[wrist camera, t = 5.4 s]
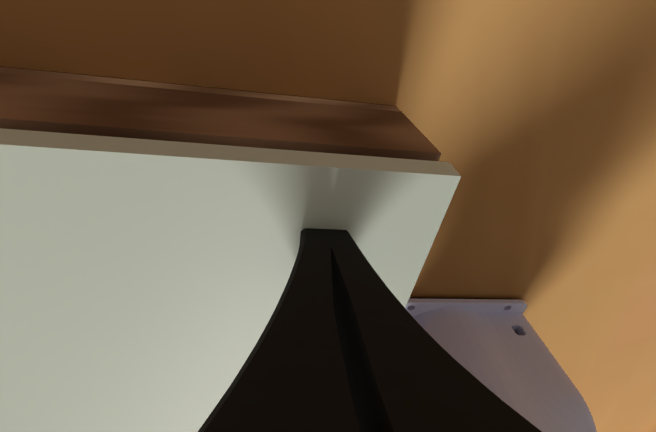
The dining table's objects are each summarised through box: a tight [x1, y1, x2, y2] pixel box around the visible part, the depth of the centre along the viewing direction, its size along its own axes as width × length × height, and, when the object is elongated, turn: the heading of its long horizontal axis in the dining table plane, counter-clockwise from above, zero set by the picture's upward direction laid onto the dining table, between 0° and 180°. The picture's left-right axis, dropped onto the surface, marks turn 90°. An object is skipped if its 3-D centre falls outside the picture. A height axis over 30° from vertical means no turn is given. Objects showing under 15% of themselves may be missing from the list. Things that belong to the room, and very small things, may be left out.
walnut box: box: [0, 67, 441, 161], centre depth 14 cm, size 18×16×5 cm
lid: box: [0, 128, 461, 432], centre depth 12 cm, size 18×16×1 cm
